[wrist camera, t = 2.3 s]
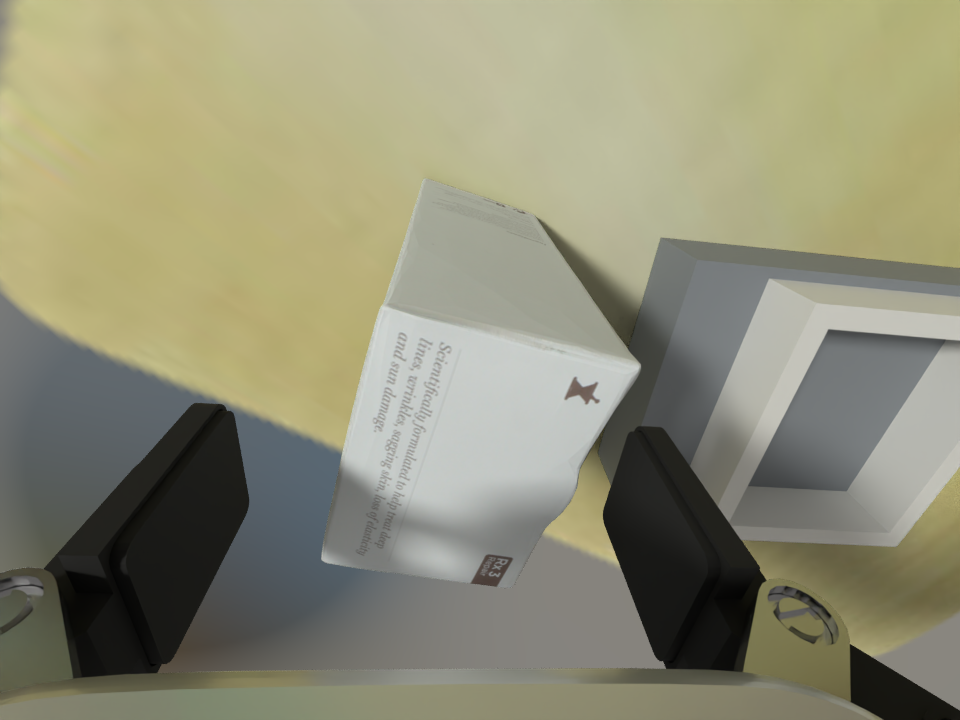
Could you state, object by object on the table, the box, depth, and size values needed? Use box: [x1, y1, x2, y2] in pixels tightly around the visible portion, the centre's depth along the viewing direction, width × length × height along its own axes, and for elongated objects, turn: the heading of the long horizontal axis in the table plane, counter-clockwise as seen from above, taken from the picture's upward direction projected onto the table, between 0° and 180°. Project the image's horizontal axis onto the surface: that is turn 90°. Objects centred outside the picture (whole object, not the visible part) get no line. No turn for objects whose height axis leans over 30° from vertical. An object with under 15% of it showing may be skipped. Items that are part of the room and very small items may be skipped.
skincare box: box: [322, 179, 641, 588], centre depth 17 cm, size 8×6×15 cm
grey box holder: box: [598, 238, 960, 547], centre depth 24 cm, size 18×14×7 cm
